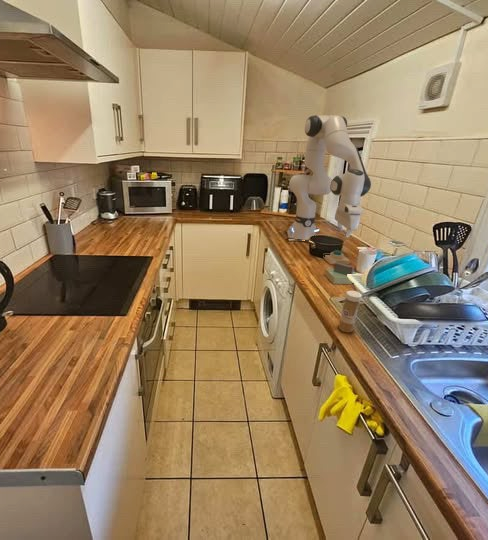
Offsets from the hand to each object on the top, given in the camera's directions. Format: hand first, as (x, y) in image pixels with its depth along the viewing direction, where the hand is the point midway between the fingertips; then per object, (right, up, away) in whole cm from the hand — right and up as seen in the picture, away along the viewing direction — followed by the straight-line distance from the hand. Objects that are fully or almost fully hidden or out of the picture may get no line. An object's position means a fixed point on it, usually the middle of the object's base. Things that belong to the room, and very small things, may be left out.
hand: (343, 234), depth 147 cm
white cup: (+9, -18, -1) cm, 21 cm away
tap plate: (-5, -22, -11) cm, 25 cm away
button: (+1, -9, +9) cm, 13 cm away
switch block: (+1, -13, +11) cm, 17 cm away
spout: (-5, -19, -12) cm, 23 cm away
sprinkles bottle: (-19, -38, -47) cm, 64 cm away
